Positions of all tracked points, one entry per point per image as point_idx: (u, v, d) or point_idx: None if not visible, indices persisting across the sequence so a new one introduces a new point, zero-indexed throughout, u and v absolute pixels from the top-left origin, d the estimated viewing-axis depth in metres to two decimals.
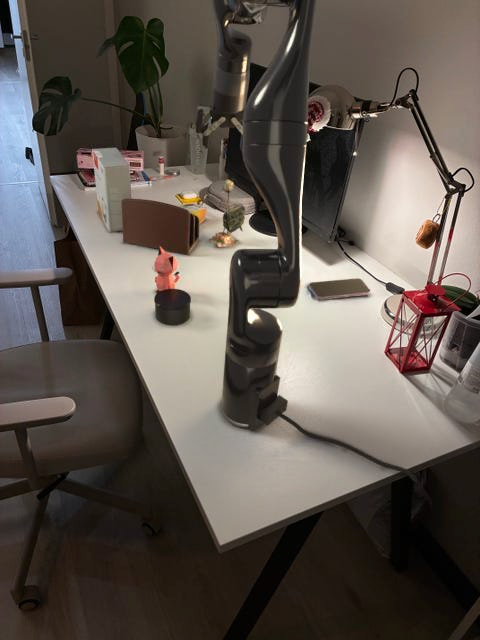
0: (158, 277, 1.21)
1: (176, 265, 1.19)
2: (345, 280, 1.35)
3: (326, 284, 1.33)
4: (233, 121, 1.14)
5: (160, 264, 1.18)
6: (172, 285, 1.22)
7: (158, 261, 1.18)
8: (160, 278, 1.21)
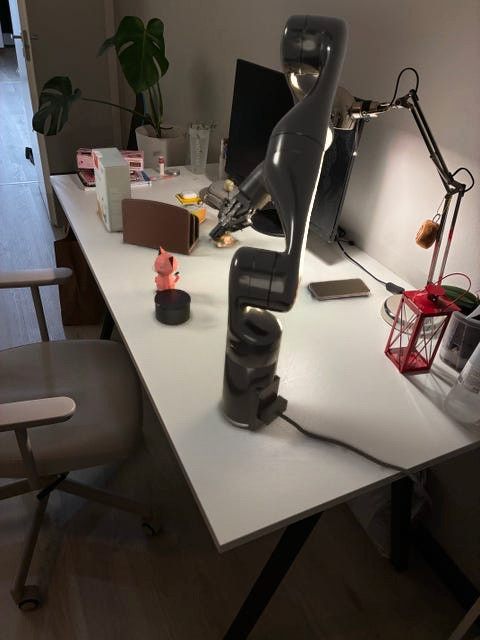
0: (158, 277, 1.21)
1: (176, 265, 1.19)
2: (345, 280, 1.35)
3: (326, 284, 1.33)
4: (237, 204, 1.18)
5: (160, 264, 1.18)
6: (172, 285, 1.22)
7: (158, 261, 1.18)
8: (160, 278, 1.21)
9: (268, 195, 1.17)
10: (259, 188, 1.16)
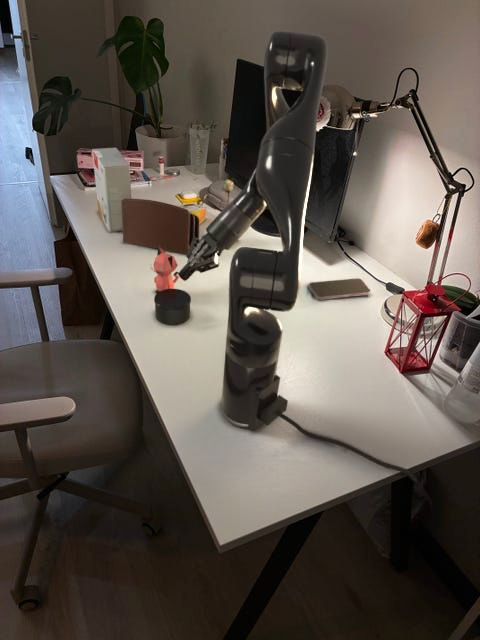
0: (157, 277, 1.21)
1: (175, 265, 1.19)
2: (345, 280, 1.35)
3: (326, 284, 1.33)
4: (204, 246, 1.21)
5: (159, 264, 1.18)
6: (171, 285, 1.22)
7: (157, 261, 1.18)
8: (159, 278, 1.20)
9: (235, 237, 1.20)
10: (225, 231, 1.18)
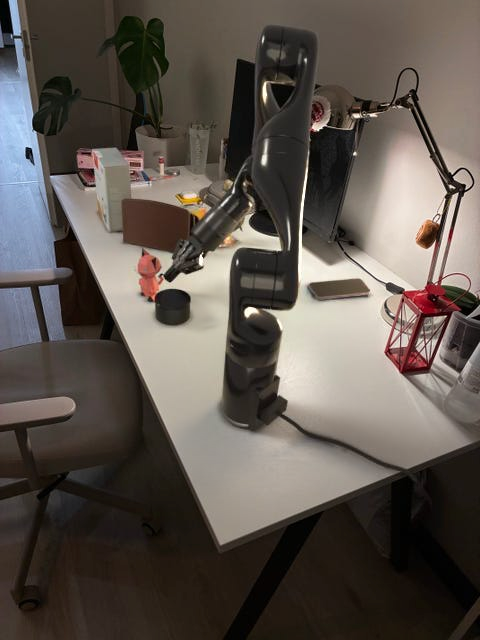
0: (142, 279, 1.20)
1: (159, 267, 1.17)
2: (345, 280, 1.35)
3: (326, 284, 1.33)
4: (189, 247, 1.19)
5: (143, 266, 1.16)
6: (156, 287, 1.21)
7: (141, 263, 1.16)
8: (143, 280, 1.19)
9: (220, 238, 1.18)
10: (210, 232, 1.17)
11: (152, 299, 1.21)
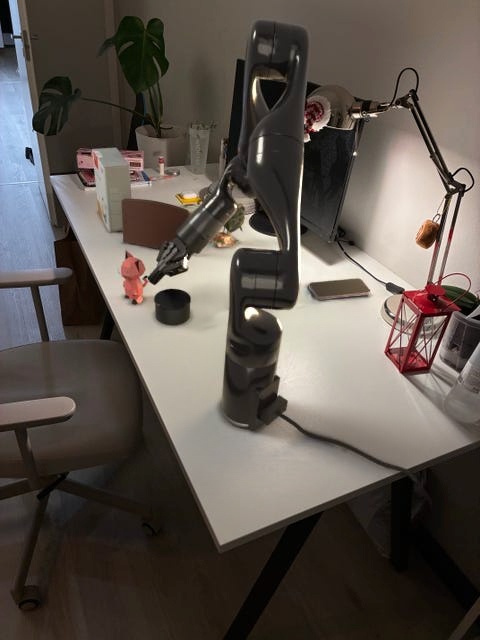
0: (125, 282, 1.18)
1: (143, 269, 1.16)
2: (345, 280, 1.35)
3: (326, 284, 1.33)
4: (173, 249, 1.18)
5: (126, 269, 1.15)
6: (140, 289, 1.19)
7: (124, 266, 1.15)
8: (127, 283, 1.18)
9: (204, 240, 1.17)
10: (194, 234, 1.15)
11: (136, 302, 1.20)
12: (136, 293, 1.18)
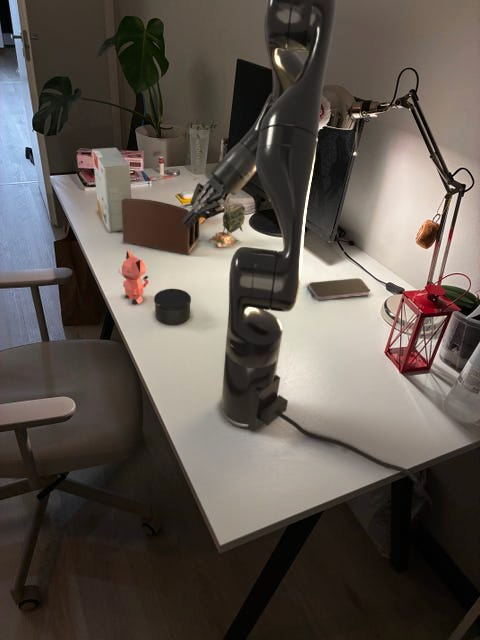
0: (126, 281, 1.18)
1: (144, 269, 1.16)
2: (345, 280, 1.35)
3: (326, 284, 1.33)
4: (210, 189, 1.13)
5: (127, 268, 1.15)
6: (140, 290, 1.19)
7: (125, 265, 1.15)
8: (128, 282, 1.18)
9: (242, 179, 1.12)
10: (232, 172, 1.10)
11: (136, 302, 1.20)
12: (136, 293, 1.18)
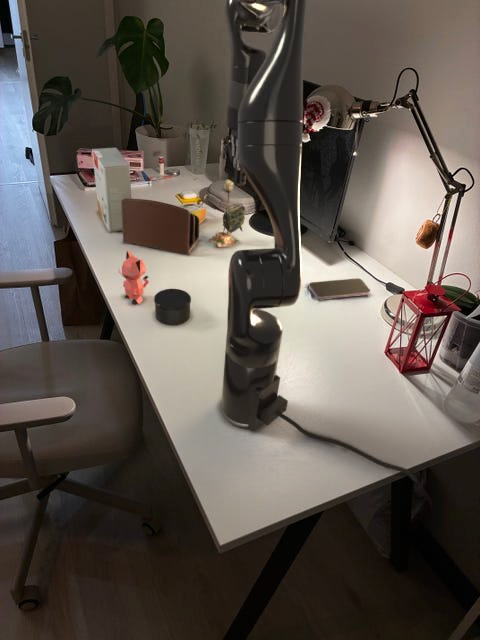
0: (126, 281, 1.18)
1: (144, 269, 1.16)
2: (345, 280, 1.35)
3: (326, 284, 1.33)
4: (236, 142, 1.07)
5: (127, 268, 1.15)
6: (140, 290, 1.19)
7: (125, 265, 1.15)
8: (128, 282, 1.18)
9: None
10: None
11: (136, 302, 1.20)
12: (136, 293, 1.18)
